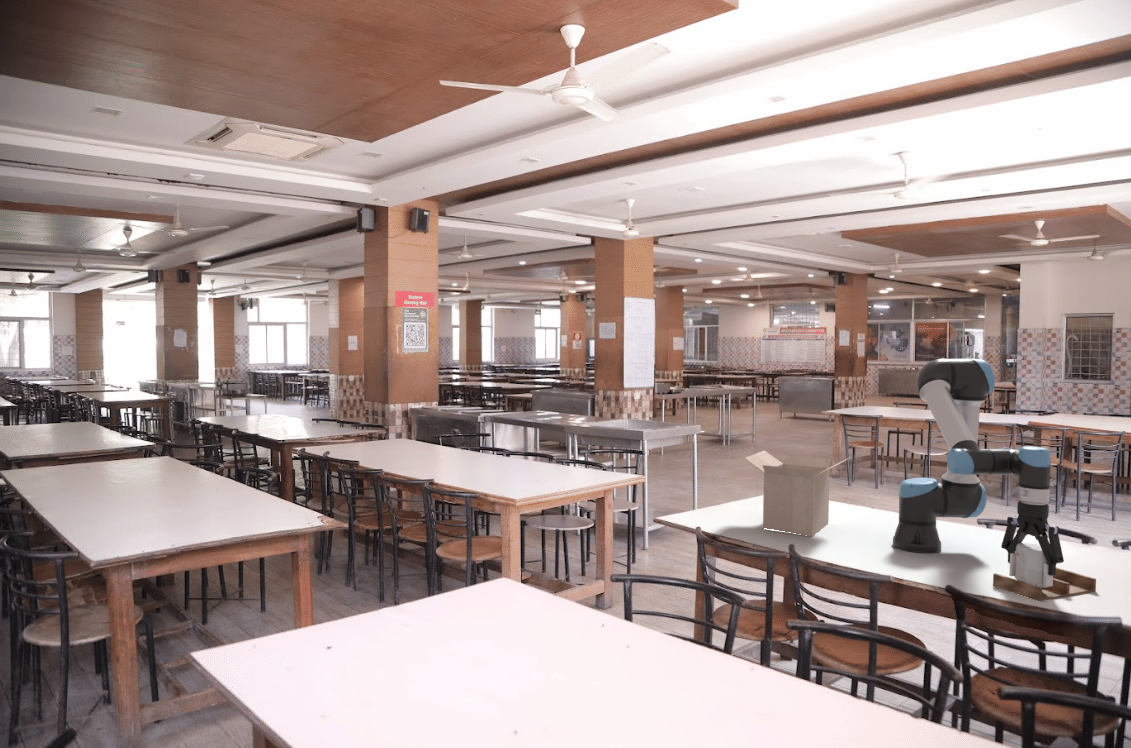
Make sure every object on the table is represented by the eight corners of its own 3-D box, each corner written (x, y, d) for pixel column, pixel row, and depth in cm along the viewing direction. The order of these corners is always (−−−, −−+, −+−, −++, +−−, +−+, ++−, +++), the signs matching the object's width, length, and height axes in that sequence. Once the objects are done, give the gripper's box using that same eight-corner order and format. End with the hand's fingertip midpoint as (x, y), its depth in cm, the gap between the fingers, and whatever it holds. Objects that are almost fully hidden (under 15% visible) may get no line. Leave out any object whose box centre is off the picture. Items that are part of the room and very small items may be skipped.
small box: (1047, 588, 209) (1049, 551, 208) (1025, 587, 210) (1026, 549, 210) (1035, 579, 217) (1037, 543, 216) (1014, 578, 218) (1015, 542, 217)
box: (850, 524, 290) (852, 456, 289) (831, 542, 265) (833, 467, 263) (765, 513, 308) (766, 449, 307) (740, 529, 282) (741, 458, 281)
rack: (992, 585, 218) (993, 573, 218) (1047, 576, 226) (1048, 565, 226) (1039, 601, 205) (1039, 588, 205) (1095, 591, 213) (1096, 578, 213)
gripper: (988, 495, 221) (986, 570, 222) (1062, 511, 201) (1059, 594, 202) (1006, 493, 224) (1004, 568, 225) (1081, 509, 204) (1078, 591, 205)
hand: (1030, 580), depth 214 cm, fingers closed on small box, 9 cm apart
